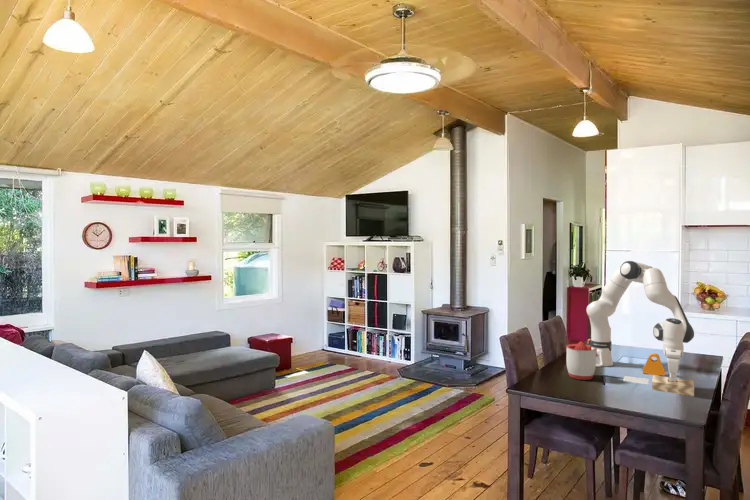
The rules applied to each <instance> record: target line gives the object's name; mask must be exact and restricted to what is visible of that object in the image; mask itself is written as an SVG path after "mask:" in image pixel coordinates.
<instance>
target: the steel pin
mask: <svg viewBox="0 0 750 500" xmlns="http://www.w3.org/2000/svg"><path fill="white" fill-rule="evenodd" d="M668 376H669V382H676V378H677V374H675V381H671V373H669V375H668Z"/></svg>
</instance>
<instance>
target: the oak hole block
mask: <svg viewBox="0 0 750 500" xmlns="http://www.w3.org/2000/svg"><path fill="white" fill-rule="evenodd" d="M651 380H652V381H651V382H652V383H651V391H657V392H665V393H672V394H679V395H682V396H688V395H689V397H694V396H695V383H694V380H693V379H688V378H687V379H685V378H678V377H676V382H669V377H668V376H662V375H659V376H657V375H652V379H651Z"/></svg>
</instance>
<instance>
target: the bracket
mask: <svg viewBox="0 0 750 500" xmlns="http://www.w3.org/2000/svg"><path fill="white" fill-rule="evenodd" d="M652 357H653V358H655V360H653V358H652ZM642 374H646V375H648V376H649V375H650V376H653V375H654V376H662V377H666V369H664V366H663V363H662V361H661V358H660V355H659V354H658V353H656V352H653V353H650V354H649V356H648V358H647V360H646V362H645V365H644V366H643V367H642Z"/></svg>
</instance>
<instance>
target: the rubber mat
mask: <svg viewBox="0 0 750 500" xmlns="http://www.w3.org/2000/svg"><path fill="white" fill-rule="evenodd" d="M622 382H626V383H627V382H628V383H635V384H641V385H649V382H650V378H643V377H636V376H629V375H628V376H627V375H624V377H623V379H622Z"/></svg>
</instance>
